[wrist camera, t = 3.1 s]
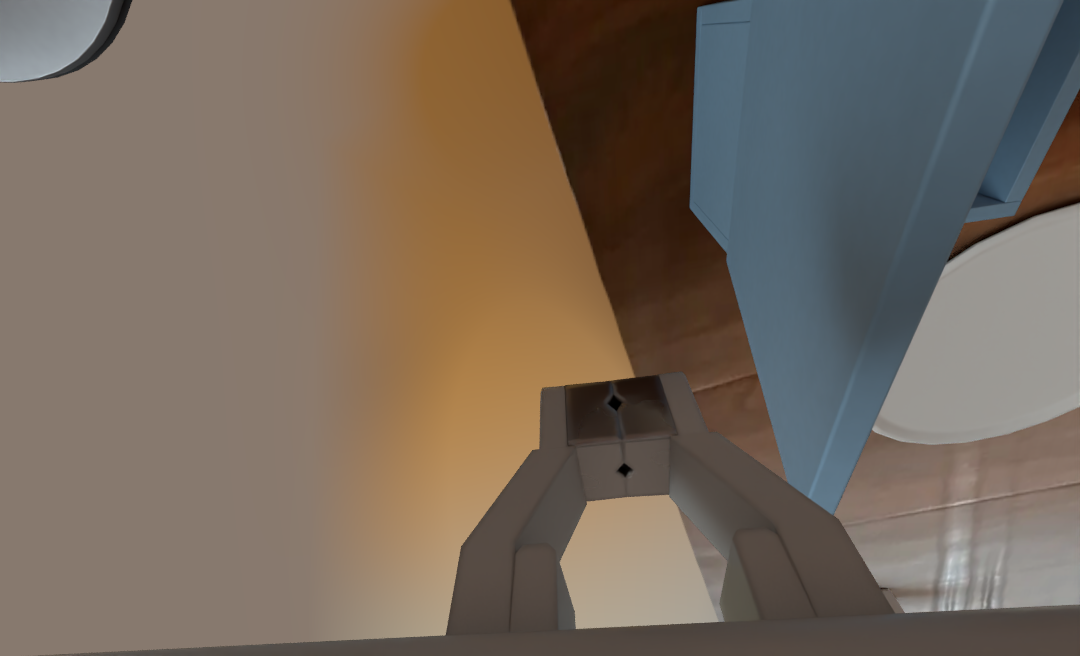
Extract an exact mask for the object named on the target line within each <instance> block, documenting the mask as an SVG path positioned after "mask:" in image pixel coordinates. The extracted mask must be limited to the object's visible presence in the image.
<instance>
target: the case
mask: <svg viewBox="0 0 1080 656" xmlns="http://www.w3.org/2000/svg"><path fill="white" fill-rule="evenodd" d="M751 9H752V0H728V1H723V2H719V3H714V4H709V5H705V6H700V7H698V8H697V28H696V55H695V81H694V108H693V134H692V161H691V187H690V209H691V210H692V211H693V213H694V214H695V215H696V216H697V218H698V219H699V220H700V221H701V222H702V224H703V225H704V226H705V227H706V228H707V230H708V231H709V232H710V233H711V234H712V236H713V237H714V238H715V239H716V240H717V242H718V243H719V244H720V245H721V246H722V248H723V249H724V250H725V251H726V252H727V251H728V241H729V231H730V221H731V211H732V201H733V191H734V181H735V171H736V161H737V151H738V140H739V130H740V120H741V110H742V100H743V90H744V80H745V70H746V60H747V50H748V40H749V29H750V19H751ZM1079 89H1080V0H1064V1H1063V3H1062V5H1061V8H1060V10H1059V12H1058V14H1057V17H1056V19H1055V21H1054V23H1053V26H1052V28H1051V30H1050V32H1049V35H1048V37H1047V39H1046V41H1045V44H1044V46H1043V48H1042V50H1041V52H1040V55H1039V57H1038V59H1037V61H1036V64H1035V66H1034V68H1033V70H1032V73H1031V75H1030V77H1029V79H1028V82H1027V84H1026V86H1025V88H1024V90H1023V93H1022V95H1021V97H1020V99H1019V102H1018V104H1017V106H1016V108H1015V111H1014V113H1013V115H1012V117H1011V120H1010V122H1009V124H1008V126H1007V128H1006V131H1005V133H1004V135H1003V137H1002V140H1001V142H1000V144H999V146H998V149H997V151H996V153H995V155H994V158H993V160H992V162H991V164H990V166H989V169H988V171H987V173H986V175H985V178H984V180H983V182H982V184H981V187H980V189H979V191H978V193H977V196H976V198H975V200H974V202H973V204H972V207H971V209H970V211H969V213H968V216H967V218H966V220H965V222H964V223H967V222H974V221H980V220H987V219H994V218H1001V217H1007V216H1014V215H1015V213H1016V211H1017V209H1018V207H1019V205H1020V203H1021V200H1022V199H1023V198H1024V196H1025V194H1026V192H1027V190H1028V188H1029V186H1030V184H1031V182H1032V180H1033V178H1034V176H1035V174H1036V172H1037V170H1038V168H1039V166H1040V165H1041V163H1042V161H1043V159H1044V157H1045V155H1046V153H1047V151H1048V149H1049V147H1050V145H1051V143H1052V141H1053V139H1054V137H1055V135H1056V134H1057V132H1058V130H1059V128H1060V126H1061V124H1062V122H1063V120H1064V118H1065V116H1066V114H1067V112H1068V110H1069V108H1070V106H1071V104H1072V103H1073V101H1074V99H1075V97H1076V95H1077V93H1078V91H1079Z"/></svg>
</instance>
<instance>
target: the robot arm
mask: <svg viewBox="0 0 1080 656" xmlns="http://www.w3.org/2000/svg"><path fill="white" fill-rule="evenodd" d="M652 495H669V496H670V498H671V499H672V500H673V501H674V502H675V503H676V505H677V506H678V507H679V508H680V509H681V510H682V511H683V512H684V513H685V514H686V516H687V517H688V518H689V519H690V520H691V521H692V522H693V523H694V524H695V526H696V527H697V528H698V529H699V530H700V531H701V532H702V533H703V534H704V536H705V537H706V538H707V539H708V540H709V541H710V542H711V543H712V544H713V546H714V547H715V548H716V549H717V550H718V551H719V552H720V553H721V554H722V556H723V557H724V558H725V559H726V560H727V561H728V563H727V568H726V573H725V578H724V583H723V588H722V593H721V598H720V603H719V604H720V607H721V610H722V614H723V617H724V621H725V622H713V623H692V624H671V625H650V626H630V627H609V628H591V629H576V627H575V611H574V609H573V605H572V602H571V598H570V595H569V592H568V588H567V585H566V582H565V579H564V575H563V572H562V569H561V566H560V560H561V558H562V555H563V553H564V551H565V549H566V547H567V545H568V543H569V541H570V539H571V536H572V534H573V532H574V530H575V528H576V526H577V524H578V522H579V519H580V517H581V515H582V513H583V511H584V509H585V507H586V505H587V502H586V501H595V500H604V499H612V498H622V497H634V496H652ZM40 656H1080V605H1062V606H1041V607H1021V608H1000V609H980V610H959V611H939V612H918V613H897V614H895V612H894V610H893V609H892V607H891V605H890V604H889V602H888V600H887V599H886V597H885V595H884V594H883V592H882V590H881V589H880V587H879V586H878V584H877V582H876V581H875V579H874V577H873V576H872V574H871V572H870V571H869V569H868V567H867V566H866V564H865V562H864V561H863V559H862V557H861V556H860V554H859V552H858V551H857V549H856V547H855V546H854V544H853V542H852V541H851V539H850V537H849V536H848V534H847V532H846V531H845V529H844V527H843V526H842V524H841V522H840V521H839V519H837V518H836V517H835V516H833V515H832V514H830V513H829V512H828V511H826V510H825V509H823V508H822V507H821V506H819V505H818V504H816V503H815V502H814V501H812V500H811V499H809V498H808V497H807V496H805V495H804V494H803V493H801V492H800V491H798V490H797V489H796V488H794V487H793V486H791V485H790V484H789V483H787V482H786V481H784V480H783V479H782V478H780V477H779V476H777V475H776V474H775V473H773V472H772V471H771V470H769V469H768V468H766V467H765V466H764V465H762V464H761V463H759V462H758V461H757V460H755V459H754V458H752V457H751V456H750V455H748V454H747V453H745V452H744V451H743V450H741V449H740V448H739V447H737V446H736V445H734V444H733V443H732V442H730V441H729V440H727V439H726V438H725V437H723V436H722V435H720V434H719V433H718V432H708V430H707V427H706V425H705V422H704V420H703V417H702V415H701V413H700V410H699V408H698V405H697V403H696V400H695V398H694V396H693V393H692V391H691V388H690V386H689V383H688V381H687V379H686V376H685V374H684V373H683V372H674V373H667V374H659V375H652V376H644V377H636V378H629V379H621V380H613V381H606V382H595V383H585V384H573V385H565V386H559V387H548V388H542V391H541V401H540V449H538V450H532V452H531V453H530V454H529V456H528V457H527V458H526V460H525V461H524V463H523V464H522V465H521V466H520V468H519V469H518V470H517V472H516V473H515V475H514V476H513V477H512V479H511V480H510V481H509V483H508V484H507V485H506V487H505V488H504V490H503V491H502V492H501V493H500V495H499V496H498V498H497V499H496V500H495V502H494V503H493V504H492V506H491V507H490V508H489V510H488V511H487V512H486V514H485V515H484V517H483V518H482V519H481V521H480V522H479V523H478V525H477V526H476V527H475V529H474V530H473V531H472V533H471V534H470V535H469V537H468V538H467V540H466V541H465V542H464V544H463V545H462V546H461V551H460V557H459V562H458V568H457V574H456V580H455V586H454V591H453V597H452V603H451V609H450V614H449V620H448V626H447V632H446V636H428V637H406V638H385V639H364V640H345V641H325V642H303V643H283V644H263V645H243V646H222V647H203V648H181V649H162V650H142V651H141V650H140V651H120V652H102V653H81V654H62V655H61V654H60V655H40Z"/></svg>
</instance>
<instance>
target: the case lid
mask: <svg viewBox="0 0 1080 656" xmlns="http://www.w3.org/2000/svg"><path fill="white" fill-rule="evenodd" d="M1063 1H1064V0H752V9H751V19H750V29H749V40H748V50H747V60H746V70H745V80H744V90H743V100H742V110H741V120H740V130H739V140H738V151H737V161H736V171H735V181H734V191H733V201H732V211H731V221H730V231H729V241H728V251H727V265H728V268H729V272H730V275H731V279H732V283H733V286H734V290H735V293H736V297H737V301H738V304H739V308H740V311H741V315H742V319H743V322H744V326H745V329H746V333H747V337H748V340H749V344H750V348H751V351H752V355H753V358H754V362H755V366H756V369H757V373H758V376H759V380H760V384H761V387H762V391H763V394H764V398H765V402H766V405H767V409H768V413H769V416H770V420H771V423H772V427H773V431H774V434H775V438H776V441H777V445H778V449H779V452H780V456H781V459H782V463H783V467H784V470H785V474H786V477H787V481H788V483H789V484H790V485H791V486H793V487H794V488H796V489H797V490H798V491H800V492H801V493H803V494H804V495H805V496H807V497H808V498H809V499H811V500H812V501H814V502H815V503H816V504H818V505H819V506H821V507H822V508H823V509H825V510H826V511H828V512H829V513H830V514H832V515H834V513H835V511H836V509H837V506H838V504H839V502H840V500H841V497H842V495H843V493H844V491H845V488H846V486H847V484H848V482H849V480H850V477H851V475H852V473H853V471H854V468H855V466H856V464H857V462H858V459H859V457H860V455H861V453H862V450H863V448H864V446H865V444H866V442H867V439H868V437H869V435H870V433H871V430H872V428H873V426H874V424H875V421H876V419H877V417H878V415H879V412H880V410H881V408H882V406H883V403H884V401H885V399H886V397H887V395H888V392H889V390H890V388H891V386H892V383H893V381H894V379H895V377H896V374H897V372H898V370H899V368H900V365H901V363H902V361H903V359H904V357H905V354H906V352H907V350H908V348H909V345H910V343H911V341H912V339H913V336H914V334H915V332H916V330H917V327H918V325H919V323H920V321H921V319H922V316H923V314H924V312H925V310H926V307H927V305H928V303H929V301H930V298H931V296H932V294H933V292H934V289H935V287H936V285H937V283H938V281H939V278H940V276H941V274H942V272H943V269H944V267H945V265H946V263H947V260H948V258H949V256H950V254H951V251H952V249H953V247H954V245H955V243H956V240H957V238H958V236H959V234H960V231H961V229H962V227H963V225H964V222H965V220H966V218H967V216H968V213H969V211H970V209H971V207H972V204H973V202H974V200H975V198H976V196H977V193H978V191H979V189H980V187H981V184H982V182H983V180H984V178H985V175H986V173H987V171H988V169H989V166H990V164H991V162H992V160H993V158H994V155H995V153H996V151H997V149H998V146H999V144H1000V142H1001V140H1002V137H1003V135H1004V133H1005V131H1006V128H1007V126H1008V124H1009V122H1010V120H1011V117H1012V115H1013V113H1014V111H1015V108H1016V106H1017V104H1018V102H1019V99H1020V97H1021V95H1022V93H1023V90H1024V88H1025V86H1026V84H1027V82H1028V79H1029V77H1030V75H1031V73H1032V70H1033V68H1034V66H1035V64H1036V61H1037V59H1038V57H1039V55H1040V52H1041V50H1042V48H1043V46H1044V44H1045V41H1046V39H1047V37H1048V35H1049V32H1050V30H1051V28H1052V26H1053V23H1054V21H1055V19H1056V17H1057V14H1058V12H1059V10H1060V8H1061V5H1062V3H1063Z"/></svg>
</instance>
